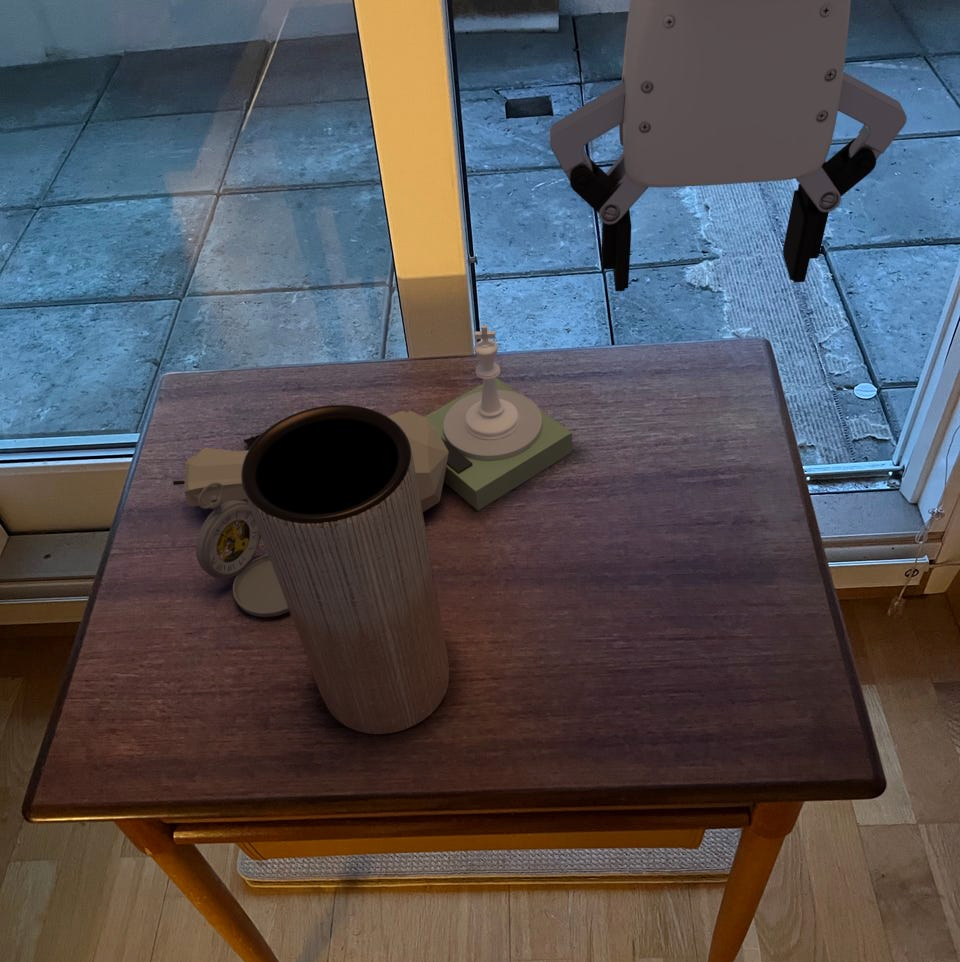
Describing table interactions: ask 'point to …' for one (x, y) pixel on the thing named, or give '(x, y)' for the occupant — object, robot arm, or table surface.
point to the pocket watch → (238, 556)
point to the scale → (497, 447)
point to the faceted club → (228, 463)
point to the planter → (352, 561)
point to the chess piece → (490, 395)
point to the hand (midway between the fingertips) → (705, 273)
